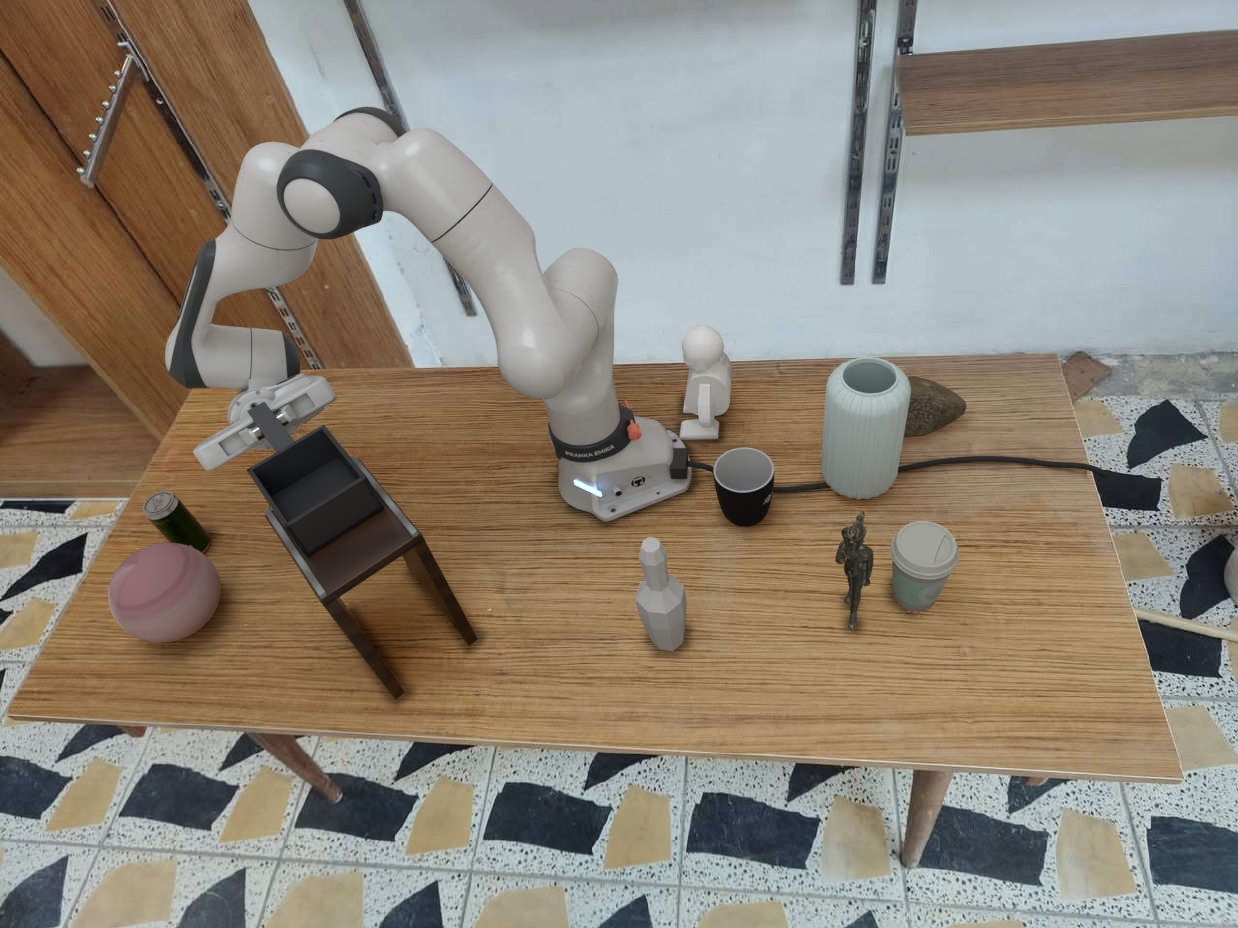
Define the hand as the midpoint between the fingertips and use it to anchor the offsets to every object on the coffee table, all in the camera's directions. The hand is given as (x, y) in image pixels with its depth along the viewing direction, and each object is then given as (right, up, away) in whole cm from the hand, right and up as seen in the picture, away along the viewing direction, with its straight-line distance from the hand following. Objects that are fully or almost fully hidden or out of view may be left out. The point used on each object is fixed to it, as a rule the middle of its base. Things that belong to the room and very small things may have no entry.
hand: (271, 427), depth 110 cm
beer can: (-26, -19, +31) cm, 44 cm away
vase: (+84, -7, +20) cm, 87 cm away
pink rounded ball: (-21, -30, +20) cm, 42 cm away
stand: (+15, -30, +13) cm, 36 cm away
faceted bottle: (+54, -29, +6) cm, 62 cm away
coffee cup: (+88, -23, +5) cm, 91 cm away
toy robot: (+62, +3, +33) cm, 71 cm away
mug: (+67, -11, +20) cm, 71 cm away
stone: (+95, +2, +26) cm, 98 cm away
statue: (+79, -26, +4) cm, 83 cm away
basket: (+5, -7, 0) cm, 9 cm away
